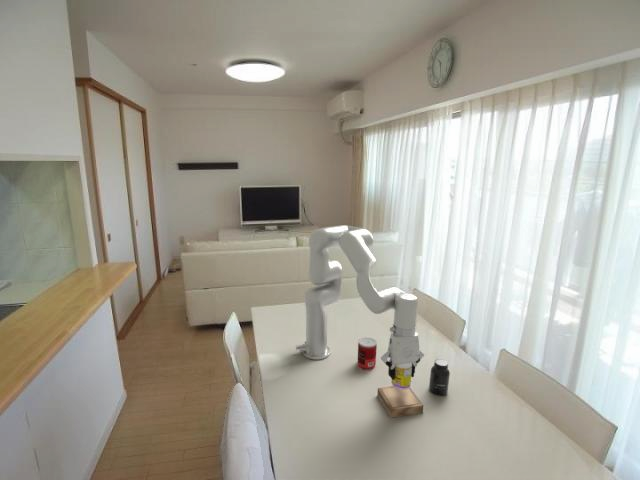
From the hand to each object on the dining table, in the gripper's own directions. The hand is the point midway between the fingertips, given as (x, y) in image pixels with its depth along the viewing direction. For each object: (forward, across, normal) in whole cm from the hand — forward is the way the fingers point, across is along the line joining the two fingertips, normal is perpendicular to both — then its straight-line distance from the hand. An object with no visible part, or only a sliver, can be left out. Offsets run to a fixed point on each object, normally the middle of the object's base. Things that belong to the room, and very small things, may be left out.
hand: (401, 375), depth 123 cm
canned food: (+11, -3, +26) cm, 29 cm away
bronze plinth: (+11, 0, 0) cm, 11 cm away
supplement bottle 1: (+4, 0, 0) cm, 4 cm away
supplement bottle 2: (+12, +18, +4) cm, 22 cm away
